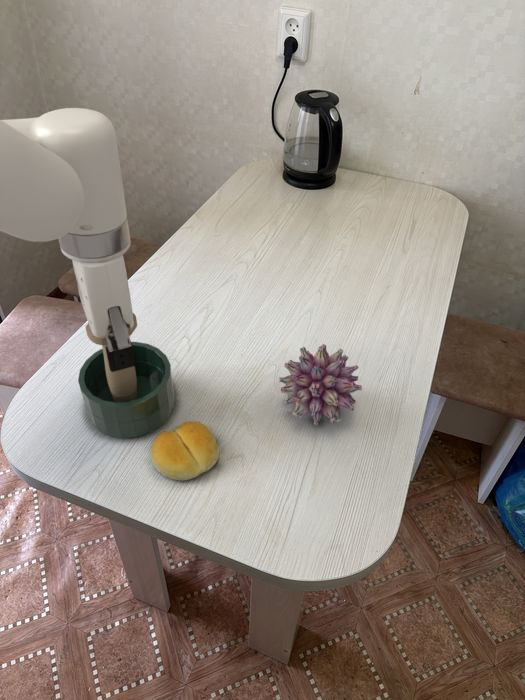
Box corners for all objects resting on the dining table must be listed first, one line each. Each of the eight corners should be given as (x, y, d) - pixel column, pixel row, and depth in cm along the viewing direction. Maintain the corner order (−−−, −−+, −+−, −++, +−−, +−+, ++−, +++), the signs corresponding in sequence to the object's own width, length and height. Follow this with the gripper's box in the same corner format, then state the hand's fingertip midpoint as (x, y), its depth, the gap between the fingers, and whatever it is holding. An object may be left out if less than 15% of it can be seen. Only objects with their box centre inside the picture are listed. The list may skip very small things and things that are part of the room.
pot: (98, 450, 70) (89, 418, 65) (80, 387, 78) (70, 355, 73) (185, 421, 74) (182, 389, 69) (160, 365, 82) (155, 332, 77)
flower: (362, 419, 77) (317, 456, 69) (302, 377, 83) (254, 406, 75) (389, 361, 71) (343, 395, 63) (322, 319, 76) (272, 344, 68)
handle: (98, 403, 74) (78, 325, 63) (133, 381, 77) (120, 303, 67) (118, 422, 71) (101, 343, 61) (154, 398, 75) (143, 320, 65)
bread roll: (143, 448, 70) (139, 430, 67) (201, 423, 74) (200, 405, 71) (166, 494, 65) (164, 477, 62) (228, 465, 69) (228, 448, 66)
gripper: (46, 203, 60) (76, 322, 72) (73, 282, 49) (103, 406, 61) (110, 194, 62) (128, 310, 75) (149, 267, 51) (163, 388, 64)
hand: (116, 352), depth 68 cm, fingers closed on handle, 5 cm apart
